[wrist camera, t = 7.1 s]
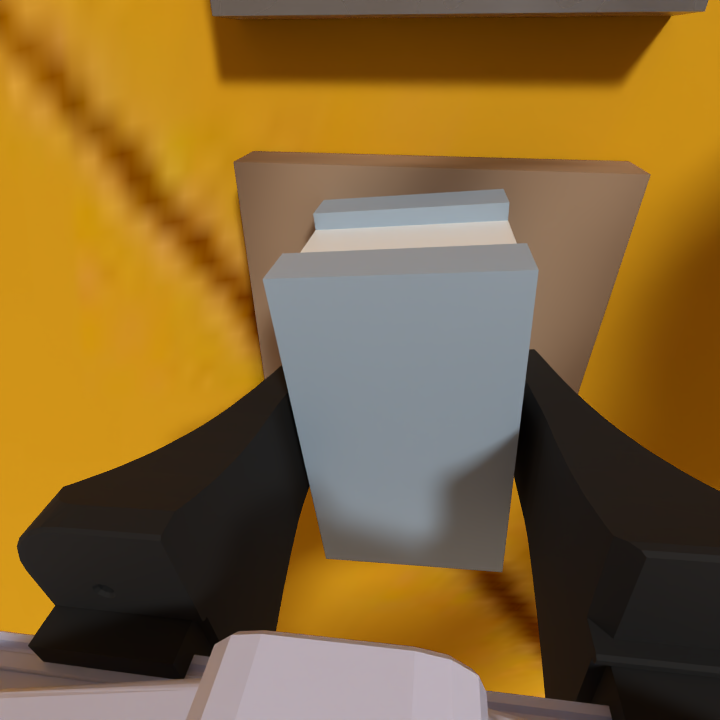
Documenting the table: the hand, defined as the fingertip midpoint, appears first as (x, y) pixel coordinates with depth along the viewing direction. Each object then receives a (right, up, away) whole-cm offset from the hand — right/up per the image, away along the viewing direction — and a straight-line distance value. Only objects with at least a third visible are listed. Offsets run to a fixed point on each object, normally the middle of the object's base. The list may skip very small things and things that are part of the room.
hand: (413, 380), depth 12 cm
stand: (0, +2, +3) cm, 3 cm away
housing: (0, +1, +1) cm, 2 cm away
